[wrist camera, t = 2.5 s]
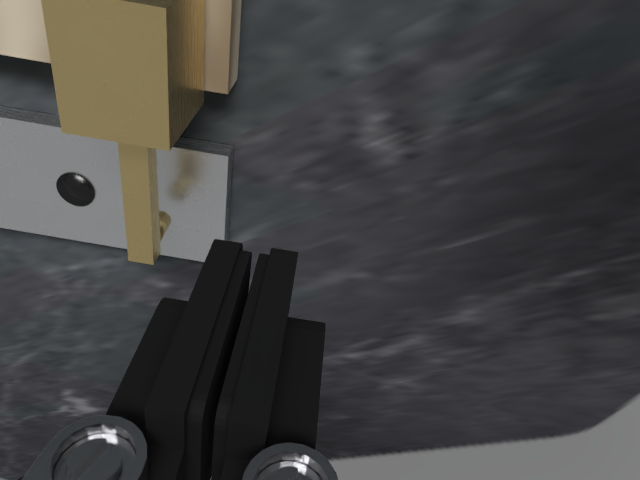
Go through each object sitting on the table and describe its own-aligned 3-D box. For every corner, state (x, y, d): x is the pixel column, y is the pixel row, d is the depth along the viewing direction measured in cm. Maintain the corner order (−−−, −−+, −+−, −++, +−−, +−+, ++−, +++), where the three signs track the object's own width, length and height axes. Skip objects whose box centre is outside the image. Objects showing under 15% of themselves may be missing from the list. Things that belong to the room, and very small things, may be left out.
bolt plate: (233, 146, 27) (227, 157, 26) (227, 252, 31) (222, 266, 30) (-239, 64, 26) (-264, 72, 25) (-181, 183, 30) (-200, 195, 29)
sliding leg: (205, -20, 20) (165, 8, 16) (201, 230, 27) (173, 290, 23) (103, -39, 20) (38, -15, 16) (125, 217, 27) (84, 276, 23)
